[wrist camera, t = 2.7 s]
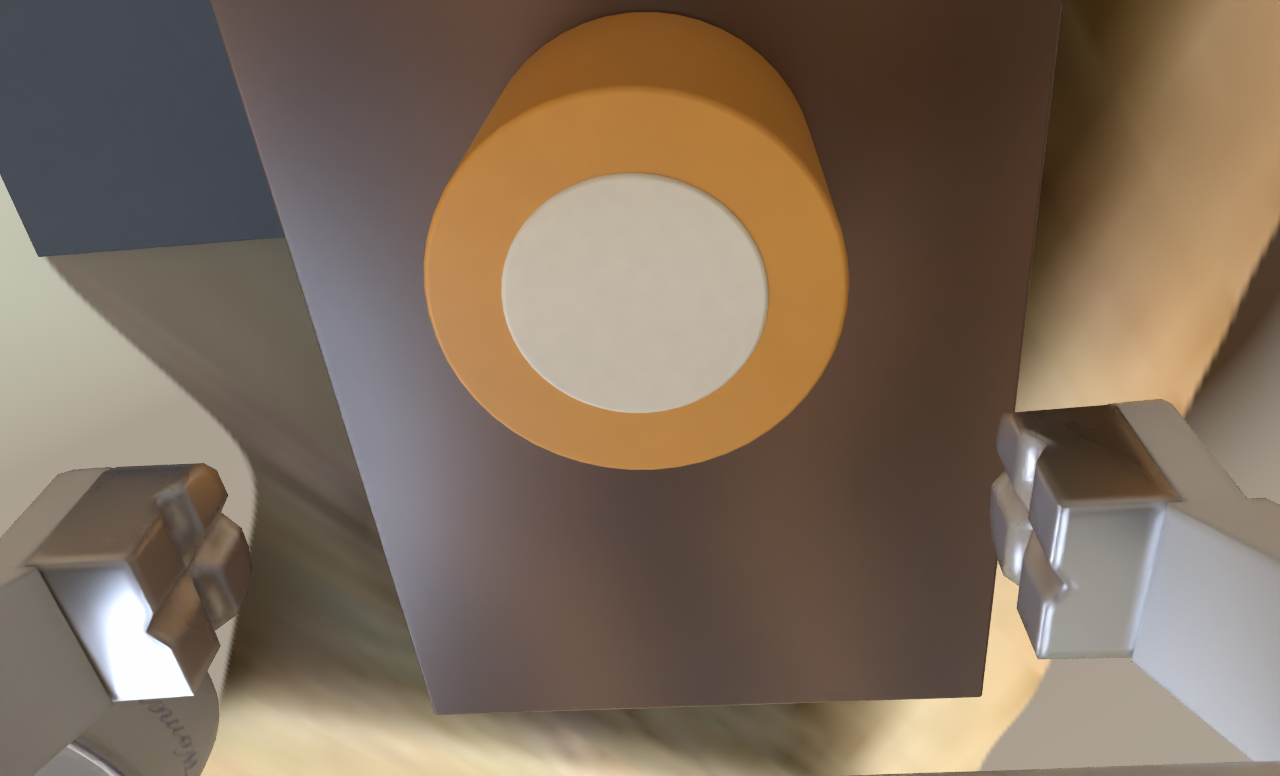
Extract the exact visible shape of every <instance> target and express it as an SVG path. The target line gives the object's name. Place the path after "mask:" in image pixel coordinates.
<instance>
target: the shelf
mask: <svg viewBox="0 0 1280 776" xmlns="http://www.w3.org/2000/svg"><path fill="white" fill-rule="evenodd" d="M210 1H211V4H212V7H213V11H214V14H215V17H216V20H217V23H218V27H219V30H220V33H221V36H222V39H223V42H224V46H225V49H226V52H227V55H228V58H229V61H230V65H231V68H232V71H233V74H234V77H235V81H236V84H237V87H238V90H239V93H240V96H241V100H242V103H243V106H244V109H245V112H246V116H247V119H248V122H249V125H250V128H251V131H252V135H253V138H254V141H255V144H256V147H257V150H258V154H259V157H260V160H261V163H262V166H263V170H264V173H265V176H266V179H267V182H268V185H269V189H270V192H271V195H272V198H273V201H274V204H275V208H276V211H277V214H278V217H279V220H280V224H281V227H282V230H283V233H284V236H285V239H286V243H287V246H288V249H289V252H290V255H291V258H292V262H293V265H294V268H295V271H296V274H297V278H298V281H299V284H300V287H301V290H302V293H303V297H304V300H305V303H306V306H307V309H308V312H309V316H310V319H311V322H312V325H313V328H314V332H315V335H316V338H317V341H318V344H319V347H320V351H321V354H322V357H323V360H324V363H325V367H326V370H327V373H328V376H329V379H330V382H331V386H332V389H333V392H334V395H335V398H336V401H337V405H338V408H339V411H340V414H341V417H342V421H343V424H344V427H345V430H346V433H347V436H348V440H349V443H350V446H351V449H352V452H353V455H354V459H355V462H356V465H357V468H358V471H359V475H360V478H361V481H362V484H363V487H364V490H365V494H366V497H367V500H368V503H369V506H370V509H371V513H372V516H373V519H374V522H375V525H376V529H377V532H378V535H379V538H380V541H381V544H382V548H383V551H384V554H385V557H386V560H387V563H388V567H389V570H390V573H391V576H392V579H393V583H394V586H395V589H396V592H397V595H398V598H399V602H400V605H401V608H402V611H403V614H404V618H405V621H406V624H407V627H408V630H409V633H410V637H411V640H412V643H413V646H414V649H415V652H416V656H417V659H418V662H419V665H420V668H421V672H422V675H423V678H424V681H425V684H426V687H427V691H428V694H429V697H430V700H431V703H432V706H433V710H434V713H435V714H436V715H449V714H479V713H509V712H539V711H569V710H600V709H630V708H660V707H690V706H720V705H750V704H781V703H811V702H841V701H871V700H901V699H931V698H962V697H980V696H981V695H982V689H983V680H984V672H985V663H986V654H987V646H988V637H989V629H990V620H991V611H992V603H993V594H994V586H995V577H996V568H997V560H998V559H997V556H996V552H995V548H994V544H993V540H992V533H991V520H990V502H991V488H992V484H993V482H994V481H995V480H996V479H997V478H998V477H999V476H1000V475H1001V474H1002V473H1003V472H1004V471H1005V468H1004V466H1003V463H1002V461H1001V459H1000V457H999V455H998V452H997V450H996V440H997V432H998V426H999V423H1000V420H1001V417H1002V414H1003V413H1014V412H1015V405H1016V397H1017V388H1018V379H1019V371H1020V362H1021V354H1022V345H1023V337H1024V328H1025V319H1026V311H1027V302H1028V294H1029V285H1030V276H1031V268H1032V259H1033V251H1034V242H1035V233H1036V225H1037V216H1038V208H1039V199H1040V190H1041V182H1042V173H1043V165H1044V156H1045V148H1046V139H1047V130H1048V122H1049V113H1050V105H1051V96H1052V87H1053V79H1054V70H1055V62H1056V53H1057V44H1058V36H1059V27H1060V19H1061V10H1062V1H1063V0H210ZM630 12H659V13H668V14H677V15H681V16H685V17H689V18H693V19H697V20H701V21H703V22H706V23H708V24H711V25H713V26H716V27H718V28H721V29H723V30H725V31H726V32H728V33H730V34H731V35H733V36H735V37H737V38H738V39H740V40H742V41H743V42H745V43H746V44H747V45H749V46H750V47H751V48H752V49H754V50H755V51H756V52H758V53H759V54H760V55H761V56H762V57H763V58H764V59H765V60H766V61H767V62H768V63H769V64H770V65H771V66H772V67H773V68H774V69H775V70H776V71H777V72H778V73H779V75H780V76H781V77H782V79H783V80H784V81H785V83H786V84H787V86H788V87H789V88H790V90H791V91H792V93H793V95H794V97H795V99H796V100H797V102H798V104H799V106H800V108H801V110H802V112H803V115H804V118H805V120H806V123H807V126H808V128H809V131H810V134H811V137H812V140H813V143H814V146H815V150H816V153H817V156H818V159H819V162H820V165H821V168H822V171H823V174H824V177H825V180H826V183H827V186H828V189H829V192H830V195H831V199H832V202H833V205H834V208H835V211H836V214H837V217H838V220H839V223H840V226H841V229H842V233H843V237H844V242H845V247H846V251H847V256H848V268H849V294H848V306H847V312H846V316H845V320H844V325H843V329H842V333H841V335H840V338H839V341H838V343H837V346H836V348H835V351H834V353H833V356H832V358H831V359H830V361H829V363H828V365H827V367H826V368H825V370H824V372H823V374H822V376H821V377H820V379H819V380H818V381H817V383H816V384H815V385H814V387H813V388H812V389H811V391H810V392H809V393H808V395H807V396H806V397H805V399H804V400H803V401H802V402H801V403H800V404H799V405H798V406H797V407H796V408H795V409H794V410H793V411H792V412H791V413H790V414H789V415H788V416H787V417H785V418H784V419H783V420H782V421H780V422H779V423H778V424H777V425H775V426H774V427H773V428H772V429H770V430H769V431H768V432H766V433H764V434H763V435H761V436H760V437H758V438H756V439H755V440H753V441H751V442H750V443H748V444H746V445H744V446H742V447H740V448H738V449H735V450H733V451H731V452H729V453H727V454H724V455H721V456H718V457H715V458H712V459H709V460H706V461H703V462H699V463H695V464H690V465H685V466H681V467H674V468H664V469H655V470H628V469H618V468H609V467H602V466H597V465H593V464H588V463H583V462H579V461H576V460H573V459H570V458H567V457H564V456H561V455H558V454H555V453H553V452H551V451H549V450H546V449H544V448H542V447H540V446H537V445H535V444H533V443H532V442H530V441H528V440H527V439H525V438H523V437H521V436H520V435H518V434H516V433H515V432H513V431H512V430H510V429H509V428H508V427H506V426H505V425H504V424H502V423H501V422H500V421H498V420H497V419H496V418H494V417H493V416H492V415H491V414H490V413H489V412H488V411H487V410H486V409H485V408H484V407H483V406H481V405H480V404H479V403H478V402H477V401H476V400H475V399H474V397H473V396H472V395H471V394H470V393H469V391H468V390H467V389H466V388H465V386H464V385H463V384H462V383H461V382H460V380H459V379H458V377H457V376H456V374H455V372H454V371H453V369H452V368H451V366H450V365H449V363H448V361H447V360H446V357H445V355H444V353H443V351H442V349H441V347H440V345H439V343H438V340H437V338H436V336H435V332H434V329H433V326H432V323H431V320H430V317H429V314H428V308H427V302H426V296H425V290H424V256H425V248H426V239H427V235H428V231H429V228H430V224H431V221H432V217H433V213H434V211H435V209H436V207H437V204H438V202H439V200H440V197H441V195H442V193H443V191H444V189H445V187H446V185H447V184H448V182H449V180H450V179H451V177H452V175H453V174H454V172H455V170H456V169H457V167H458V165H459V164H460V162H461V160H462V159H463V157H464V155H465V154H466V152H467V150H468V148H469V147H470V145H471V143H472V142H473V140H474V138H475V137H476V135H477V133H478V132H479V130H480V128H481V127H482V125H483V123H484V122H485V120H486V118H487V117H488V115H489V113H490V112H491V110H492V108H493V107H494V105H495V103H496V102H497V100H498V98H499V97H500V95H501V93H502V92H503V90H504V89H505V87H506V86H507V84H508V82H509V81H510V79H511V78H512V77H513V76H514V74H515V73H516V72H517V71H518V70H519V69H520V67H521V66H522V65H523V64H524V63H525V61H527V60H528V59H529V58H530V57H531V56H532V55H533V54H535V53H536V52H537V51H538V50H539V49H540V48H541V47H542V46H544V45H545V44H547V43H548V42H550V41H551V40H553V39H554V38H556V37H557V36H559V35H561V34H562V33H564V32H566V31H568V30H571V29H573V28H575V27H577V26H579V25H581V24H583V23H586V22H590V21H593V20H596V19H599V18H602V17H605V16H611V15H617V14H623V13H630Z"/></svg>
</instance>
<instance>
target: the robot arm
mask: <svg viewBox="0 0 1280 776" xmlns="http://www.w3.org/2000/svg"><path fill="white" fill-rule="evenodd" d="M996 450H997V452H998V455H999V457H1000V459H1001V461H1002V463H1003V466H1004V468H1005V471H1004V472H1003V473H1002V474H1001V475H1000V476H999V477H998V478H997V479H996V480H995V481H994V482H993V484H992V488H991V502H990V520H991V533H992V540H993V544H994V548H995V552H996V556H997V559H998V562H999V565H1000V567H1001V570H1002V572H1003V575H1004V576H1005V577H1007V578H1008V579H1010V580H1011V581H1013V582H1014V583H1016V584H1017V585H1019V594H1018V602H1017V610H1018V612H1019V615H1020V617H1021V619H1022V622H1023V624H1024V627H1025V629H1026V631H1027V634H1028V636H1029V639H1030V641H1031V644H1032V646H1033V648H1034V651H1035V653H1036V656H1037V658H1038V659H1074V658H1075V659H1079V658H1132V662H1133V663H1134V664H1135V665H1136V666H1138V667H1139V668H1140V669H1141V670H1142V671H1144V672H1145V673H1146V674H1147V675H1149V676H1150V677H1151V678H1152V679H1154V680H1155V681H1156V682H1157V683H1158V684H1160V685H1161V686H1162V687H1163V688H1164V689H1166V690H1167V691H1168V692H1169V693H1171V694H1172V695H1173V696H1174V697H1175V698H1177V699H1178V700H1179V701H1180V702H1182V703H1183V704H1184V705H1185V706H1186V707H1188V708H1189V709H1190V710H1191V711H1193V712H1194V713H1195V714H1196V715H1198V716H1199V717H1200V718H1201V719H1203V720H1204V721H1205V722H1206V723H1207V724H1209V725H1210V726H1211V727H1212V728H1214V729H1215V730H1216V731H1217V732H1218V733H1220V734H1221V735H1222V736H1223V737H1225V738H1226V739H1227V740H1228V741H1230V742H1231V743H1232V744H1233V745H1234V746H1236V747H1237V748H1238V749H1239V750H1240V751H1242V752H1243V753H1244V754H1245V755H1246V756H1248V757H1249V758H1250V759H1251V760H1253V761H1252V762H1222V763H1193V764H1163V765H1138V766H1111V767H1085V768H1058V769H1032V770H1006V771H975V772H944V773H913V774H882V775H851V776H1280V505H1279V504H1277V503H1275V502H1273V501H1271V500H1268V499H1266V498H1253V499H1247V497H1246V496H1245V495H1244V494H1243V492H1242V491H1241V490H1240V489H1239V487H1238V486H1237V485H1236V484H1235V482H1234V481H1233V480H1232V479H1231V477H1230V476H1229V475H1228V474H1227V472H1226V471H1225V470H1224V469H1223V467H1222V466H1221V465H1220V464H1219V462H1218V461H1217V460H1216V459H1215V457H1214V456H1213V455H1212V454H1211V453H1210V451H1209V450H1208V448H1207V447H1206V446H1205V445H1204V444H1203V442H1202V441H1201V440H1200V439H1199V437H1198V436H1197V435H1196V434H1195V432H1194V431H1193V430H1192V428H1191V427H1190V426H1189V425H1188V423H1187V422H1186V421H1185V420H1184V418H1183V417H1182V416H1181V415H1180V413H1179V412H1178V411H1177V410H1176V408H1175V407H1174V406H1173V405H1172V404H1171V403H1169V402H1167V401H1165V400H1162V399H1155V400H1144V401H1134V402H1124V403H1113V404H1108V405H1101V406H1088V407H1076V408H1064V409H1051V410H1039V411H1026V412H1014V413H1003V414H1002V417H1001V420H1000V423H999V426H998V432H997V440H996ZM227 497H228V494H227V492H226V490H225V487H224V485H223V483H222V481H221V479H220V477H219V474H218V472H217V470H215V469H213V468H212V467H210V466H207V465H206V464H204V463H200V464H178V465H153V466H132V467H131V466H130V467H116V468H110V467H106V468H92V469H79V470H72V471H68V472H65V473H61V474H58V475H57V476H56V477H55V479H53V481H52V482H51V483H50V484H49V485H48V486H47V487H46V488H45V489H44V491H43V492H42V493H41V494H40V495H39V496H38V497H37V498H36V499H35V501H33V503H32V504H31V505H30V506H29V507H28V508H27V509H26V510H25V512H23V514H22V515H21V516H20V517H19V518H18V519H17V520H16V521H15V522H14V524H13V525H12V526H11V527H10V528H9V529H8V530H7V531H6V532H5V534H4V535H3V536H2V537H1V538H0V776H33V775H35V774H36V773H37V772H38V771H39V770H40V769H42V768H43V767H44V766H45V765H46V764H47V763H48V762H50V761H51V760H52V759H53V758H54V757H55V756H56V755H58V754H59V753H60V752H61V751H62V750H63V749H64V748H66V747H67V746H68V745H69V744H70V743H71V742H72V741H74V740H75V739H76V738H77V737H78V736H79V735H80V734H82V733H83V732H84V731H85V730H86V729H87V728H89V727H90V726H91V725H92V724H93V723H94V722H95V721H97V720H98V719H99V718H100V717H101V716H102V715H103V714H105V713H106V712H107V711H108V710H109V709H110V708H111V707H113V701H127V700H141V699H155V698H169V697H183V696H194V694H195V692H196V690H197V689H198V687H199V685H200V683H201V681H202V679H203V677H204V676H205V674H206V672H207V670H208V668H209V666H210V664H211V662H212V661H213V659H214V657H215V655H216V653H217V651H218V650H219V647H220V643H219V641H218V638H217V636H216V633H215V630H216V629H218V628H219V627H220V626H222V625H223V624H225V623H226V622H227V621H229V620H230V619H231V618H233V617H234V616H235V615H237V614H238V612H239V610H240V608H241V606H242V604H243V602H244V600H245V598H246V596H247V594H248V588H249V581H250V574H251V560H250V553H249V546H248V544H247V541H246V539H245V536H244V533H243V531H242V528H240V527H239V526H238V525H237V524H236V523H234V522H233V521H232V520H230V519H229V518H228V517H226V516H225V515H224V514H222V513H221V511H222V508H223V506H224V504H225V501H226V499H227Z"/></svg>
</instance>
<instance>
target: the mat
mask: <svg viewBox="0 0 1280 776" xmlns="http://www.w3.org/2000/svg"><path fill="white" fill-rule="evenodd" d="M0 174H1V177H2V179H3V181H4V183H5V186H6V188H7V190H8V192H9V194H10V196H11V199H12V200H13V203H14V205H15V207H16V209H17V212H18V214H19V216H20V218H21V220H22V222H23V225H24V227H25V229H26V231H27V233H28V235H29V238H30V240H31V242H32V244H33V246H34V248H35V250H36V253H37V255H38V256H39V257H43V256H55V255H68V254H80V253H93V252H105V251H117V250H130V249H142V248H155V247H167V246H180V245H192V244H204V243H217V242H229V241H242V240H254V239H266V238H279V237H285V236H284V233H283V230H282V227H281V224H280V220H279V217H278V214H277V211H276V208H275V204H274V201H273V198H272V195H271V192H270V189H269V185H268V182H267V179H266V176H265V173H264V170H263V166H262V163H261V160H260V157H259V154H258V150H257V147H256V144H255V141H254V138H253V135H252V131H251V128H250V125H249V122H248V119H247V116H246V112H245V109H244V106H243V103H242V100H241V96H240V93H239V90H238V87H237V84H236V81H235V77H234V74H233V71H232V68H231V65H230V61H229V58H228V55H227V52H226V49H225V46H224V42H223V39H222V36H221V33H220V30H219V27H218V23H217V20H216V17H215V14H214V11H213V7H212V4H211V1H210V0H0Z"/></svg>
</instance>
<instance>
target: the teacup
mask: <svg viewBox="0 0 1280 776" xmlns="http://www.w3.org/2000/svg"><path fill="white" fill-rule="evenodd" d="M218 723H219V704H218V698H217V693H216V690H215V688H214V685H213V682H212V680H211V678H210V676H209V673H208V671H207V672H206V674H205V676H204V677H203V679H202V681H201V683H200V685H199V687H198V689H197V690H196V692H195V694H194V696H183V697H169V698H155V699H141V700H127V701H113V707H111V708H110V709H109V710H108V711H107V712H106V713H105V714H103V715H102V716H101V717H100V718H99V719H98V720H97V721H95V722H94V723H93V724H92V725H91V726H90V727H89V728H87V729H86V730H85V731H84V732H83V733H82V734H80V735H79V736H78V737H77V738H76V739H75V740H74V741H72V742H71V743H70V744H69V745H68V746H67V747H66V748H64V749H63V750H62V751H61V752H60V753H59V754H58V755H56V756H55V757H54V758H53V759H52V760H51V761H50V762H48V763H47V764H46V765H45V766H44V767H43V768H42V769H40V770H39V771H38V772H37V773H36V774H35V775H33V776H200V775H201V773H202V771H203V769H204V767H205V764H206V762H207V760H208V758H209V755H210V753H211V750H212V748H213V745H214V742H215V739H216V735H217V730H218Z"/></svg>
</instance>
